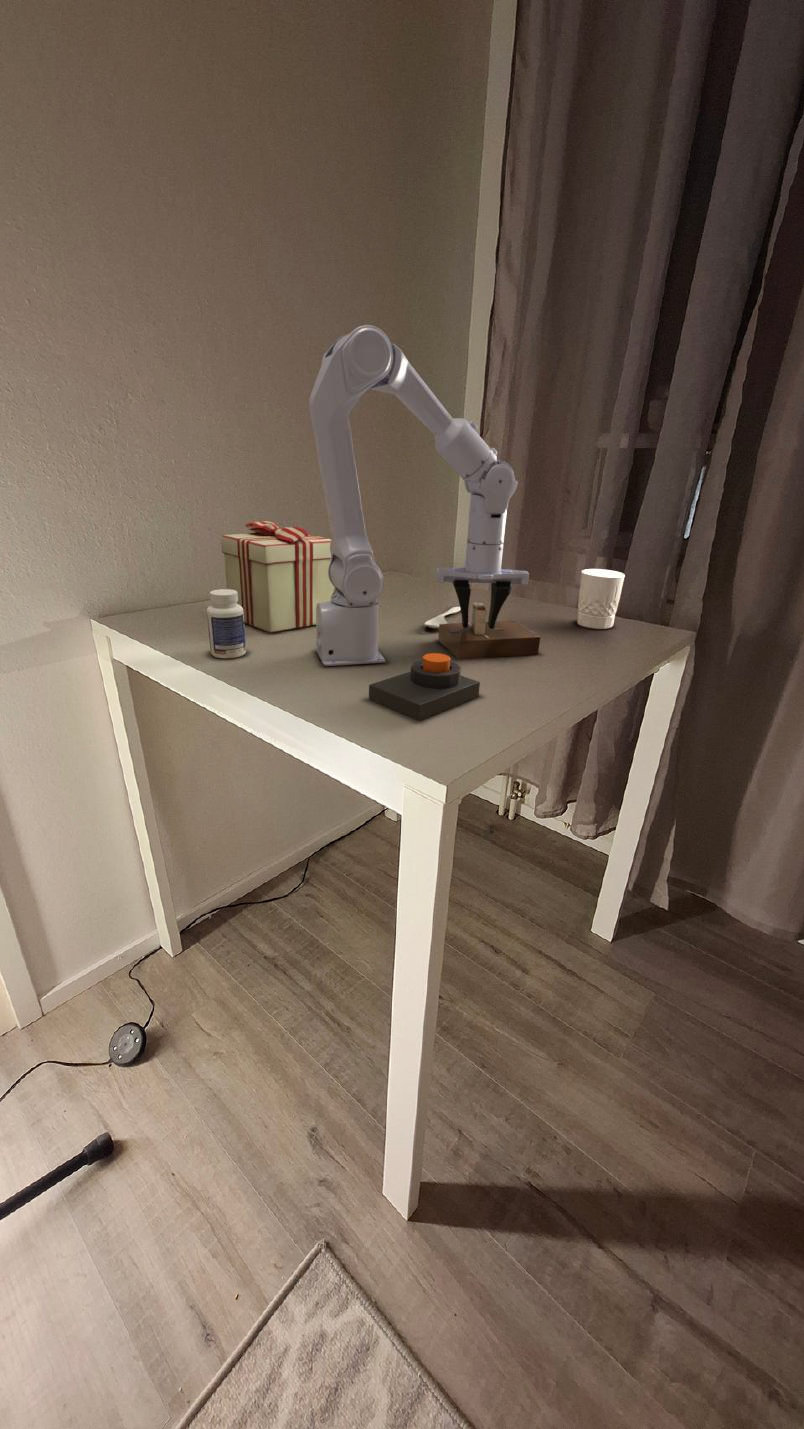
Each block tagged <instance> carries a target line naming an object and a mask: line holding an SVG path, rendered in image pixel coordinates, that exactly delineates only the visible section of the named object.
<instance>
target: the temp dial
mask: <svg viewBox="0 0 804 1429" xmlns="http://www.w3.org/2000/svg"><path fill="white" fill-rule="evenodd" d="M487 612H488V611H487V609H486V607H485V606H484V604H483V603H482V602H481V603H480V602H473V603H472V610H471V619H470V620H471V621H470V623H471V627H472V629H473V632H474V634H475V635H484V634H485V623H486V622H487Z"/></svg>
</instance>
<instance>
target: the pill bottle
mask: <svg viewBox="0 0 804 1429" xmlns="http://www.w3.org/2000/svg"><path fill="white" fill-rule="evenodd" d="M209 601H210V603H212V604H210V605H209V606H208V607H207V608H206V618H207V619H206V620H207V629H208V639H209V647H210V649H209V650H210V654H211V656H213V657H215V658H219V659H234V658H239V657H242V656H244V655H245V654H246V653H247V643H246V628H245V627H246V626H245V623H244V612H243V608H242V607H241V606H240V605H238V604H237V601H238V594H237V591H235V590H230V589H227V588H221V589H220V588H219V589H213V590H211V591H209Z"/></svg>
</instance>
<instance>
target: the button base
mask: <svg viewBox="0 0 804 1429" xmlns="http://www.w3.org/2000/svg"><path fill="white" fill-rule="evenodd" d="M422 667H423V659H420V660H418V661H414V662H413V663H412V664H411V666H410V671H407V672H404V673H401V674H398V675H395V676H391V677H388V678H386V679H383V680H380V681H376V682H373V683H371V684H369V685H368V700H369V701H370V702H372V703H375V704H377V705H380V706H382V707H385V708H387V709H389V710H391V711H394V712H396V713H399V714H401V715H403V716H406V717H408V718H410V719H413V720H415V721H418V722H421V721H423V720H425V719H427V718H430V717H433V716H435V715H437V714H439V713H442V712H444V711H447V710H450V709H452V708H455V707H457V706H459V705H462V704H465V703H466V702H469V701H471V700H472V701H473V700H474V699H476V698H478V697H479V696H480V686H481V682H480V681H478V680H476V679H473V678H469V677H467V676H463V675H462V667H461V666H460V665H459V664H457V663H456V662H452V661H450V669H449V671H447V672H439V673H436V672H428V671H425V670H423V669H422Z"/></svg>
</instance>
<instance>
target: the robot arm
mask: <svg viewBox="0 0 804 1429" xmlns="http://www.w3.org/2000/svg"><path fill="white" fill-rule="evenodd" d="M369 389H370V390H372V391H377V392H381V393H384V394H385V393H386V394H391V395H393V396H395V397H396V398H397V399H398V400H399V402H401V403H402V404H403V405H404V406H405V407H406V408H407V409H408V410H409V411H410V412H411V413H412V414H413V415H414V416H415V417H416V418H417V419H418V421H420V422H421V423H422V424H423V425H424V426H425V427H426V428H427V429H428V430H429V431H430V432H431V433H432V434H433V435H434V448H435V451H436V452H437V453H438V454H439V455H440V456H441V457H442V458H443V459H444V460H445V462H446V463H447V464H448V465H449V466H450V467H451V468H452V469H453V470H454V471H455V473H457V475H458V476H459V477H460V478H461V479H462V480H463V481H464V482H463V483H464V487H465V490H466V492H467V493H469V494H470V498H469V511H468V523H467V524H468V526H467V538H466V548H465V549H466V551H465V563H464V567H437V568H436V582H437V583H440V584H441V583H447V582H448V583H452V585H453V588H454V590H455V594H456V597H457V600H458V604H459V607H460V609H461V610H460V613H461V614H460V615H461V623H462V626H463V628H468V623H469V609H470V608H469V607H470V599H471V593H472V589H471V587H470V586H471V584H470V583H472V584H473V583H476V584H490V585H491V586H490V605H489V612H488V618H487V622H488V626H489V628H490V629H494V626H495V622H497V619H498V617H499V614H500V611H501V610H502V608H503V605H504V604H505V601H507V599H508V597H509V596H510V594H511V592H512V586H511V585H521V586H528V585H529V578H530V573H529V572H528V571H527V570H516V569H506V568H502V565H503V563H502V562H503V555H504V554H503V553H504V543H505V533H506V526H507V525H506V523H507V515H508V514H507V512H508V508H509V507H508V506H509V502H510V499H511V497H512V496H513V495H514V494H515V492H516V490H517V487H518V482H519V481H518V480H516V476H515V471H514V469H513V467H512V466H511V465H510V464H509V462H507V461H505V460H502V459H501V460H500V459H498V458H497V455H498V451H497V450H496V448H494V447H490V446H489V445H488V444H487V443H486V442H485V440H484V439H483V438H482V437H481V435H480V434H479V433H478V432H477V430H478V428H479V426H478V425H477V424H476V423H475V422H474V421H471V420H470V421H467V419H466V418H464V417H455V418H453V416H452V415H450V412H448V410H447V409H446V408H445V407H444V406H443V404H442V402H441V401H440V400H439V398H437V397H436V395H435V394H434V393H433V391H432V390H431V389H430V387H429V386H428V385H427V384H426V382H425V381H424V379H422V377H421V376H420V374H419V373H418V372H417V371H416V369H415V368H414V367H413V366H412V365H411V363H410V361H409V360H408V358H407V357H406V355H405V353H404V352H403V350H401V348H400V347H399V346H397V345H396V344H395V343H394V342H393V343H391V340H390V339H389V337H388V336H387V335H386V333H385V332H384V331H383V330H382V329H381V328H379V327H377V326H375V325H371V324H363V325H360V326H358V327H356V328H355V329H353V330H352V331H351V332H350V333H348V334H345V335H342V336H340V337H338V338H337V339H336V340H335V341H334V342H333V344H332V345H331V346H330V347H329V348H328V349H327V350H326V352H325V353H324V354H323V356H322V360H321V364H320V368H319V371H318V374H317V376H316V378H315V382H314V385H313V388H312V390H311V393H310V396H309V399H308V409H309V415H310V421H311V426H312V427H311V428H312V432H313V438H314V444H315V449H316V454H317V461H318V467H319V472H320V478H321V483H322V484H321V485H322V489H323V495H324V501H325V507H326V511H327V512H326V513H327V518H328V523H329V524H328V525H329V531H330V535H331V538H330V539H331V543H330V552H331V561H330V565H329V568H328V576H329V579H330V582H331V583H332V585H333V586H334V592H333V593H332V596H331V601H328V602H320V603H318V604H317V608H316V627H315V628H316V630H315V631H316V649H315V650H316V653H317V655H318V656H319V659H320V661H321V663H322V665H323V666H324V667H336V666H351V665H363V664H364V665H366V664H381V663H382V664H383V663H386V659H385V657H384V655H382V654H381V653H380V651H379V650H378V649H379V607H380V606H379V604H380V602H379V601H380V598H379V597H380V596H381V594H382V592H383V589H384V586H385V585H384V584H385V581H384V580H385V579H384V576H383V572H382V570H381V569H380V568H379V566H378V565H377V564H376V560H375V556H374V551H373V548H372V546H371V543H370V540H369V538H368V535H367V530H366V524H365V518H364V512H363V504H362V498H361V491H360V484H359V477H358V471H357V465H356V458H355V457H356V456H355V451H354V444H353V437H352V431H351V430H352V429H351V424H350V417H349V414H350V412H351V411H352V409H353V408H354V407H355V406H356V404H357V403H358V401H359V400H360V399H361V398H362V396H363V394H364V393H366V392H367V391H368V390H369Z"/></svg>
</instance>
